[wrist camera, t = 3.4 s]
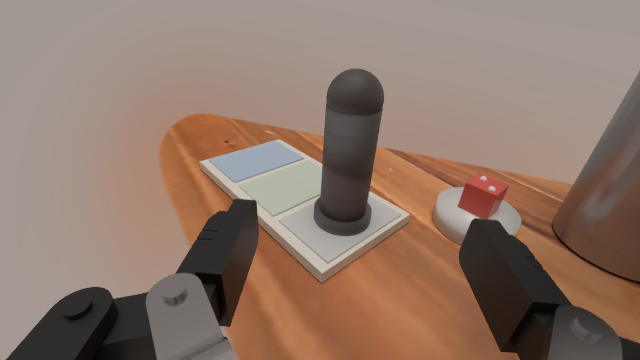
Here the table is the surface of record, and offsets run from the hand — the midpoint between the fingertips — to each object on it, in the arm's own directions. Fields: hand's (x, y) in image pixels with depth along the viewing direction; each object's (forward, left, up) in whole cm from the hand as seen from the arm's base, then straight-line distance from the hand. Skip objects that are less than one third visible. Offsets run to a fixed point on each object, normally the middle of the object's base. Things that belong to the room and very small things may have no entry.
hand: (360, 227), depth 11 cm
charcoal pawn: (-9, -8, -9) cm, 15 cm away
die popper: (-19, -1, -10) cm, 21 cm away
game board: (-9, -15, -10) cm, 20 cm away
